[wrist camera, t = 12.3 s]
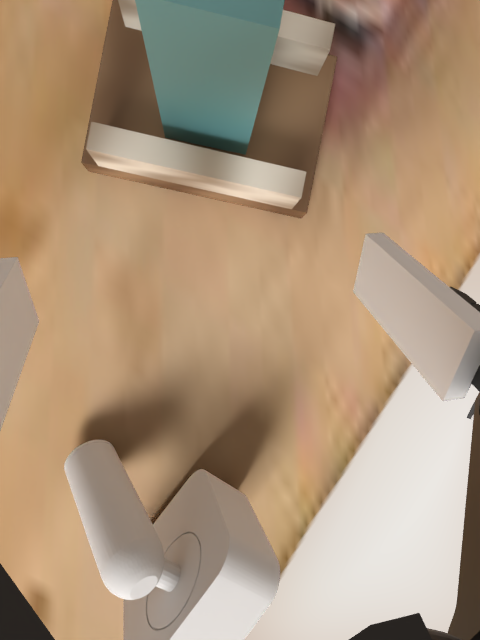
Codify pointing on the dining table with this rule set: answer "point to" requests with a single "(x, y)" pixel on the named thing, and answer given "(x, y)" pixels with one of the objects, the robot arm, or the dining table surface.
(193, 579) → the wall hook
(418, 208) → the dining table surface
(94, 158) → the display stand
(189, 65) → the teal upright prism
